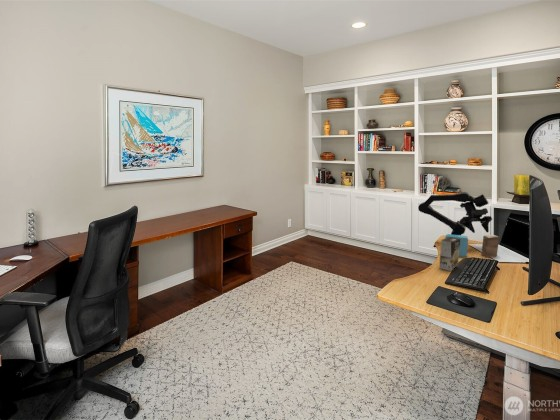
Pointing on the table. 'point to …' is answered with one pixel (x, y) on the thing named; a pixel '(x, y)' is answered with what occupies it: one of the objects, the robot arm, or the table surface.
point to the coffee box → (449, 253)
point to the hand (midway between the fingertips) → (481, 232)
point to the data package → (461, 244)
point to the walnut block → (490, 246)
